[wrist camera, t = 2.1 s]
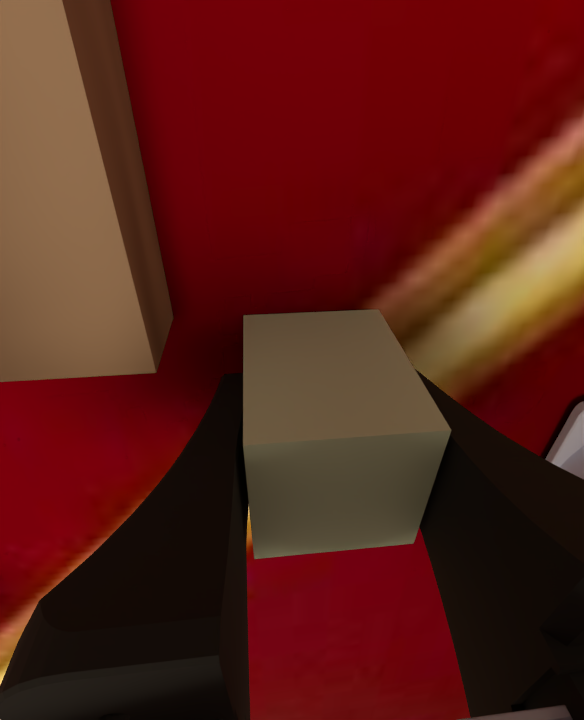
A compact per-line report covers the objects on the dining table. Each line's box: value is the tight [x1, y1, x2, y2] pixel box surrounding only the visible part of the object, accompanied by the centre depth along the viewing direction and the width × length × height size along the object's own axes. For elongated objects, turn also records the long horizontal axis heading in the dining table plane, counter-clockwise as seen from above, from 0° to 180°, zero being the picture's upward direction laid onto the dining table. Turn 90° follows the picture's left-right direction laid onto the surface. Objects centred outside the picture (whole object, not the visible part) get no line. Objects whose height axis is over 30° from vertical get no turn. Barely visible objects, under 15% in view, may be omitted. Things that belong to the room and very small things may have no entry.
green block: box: [243, 309, 451, 559], centre depth 11 cm, size 4×4×5 cm
